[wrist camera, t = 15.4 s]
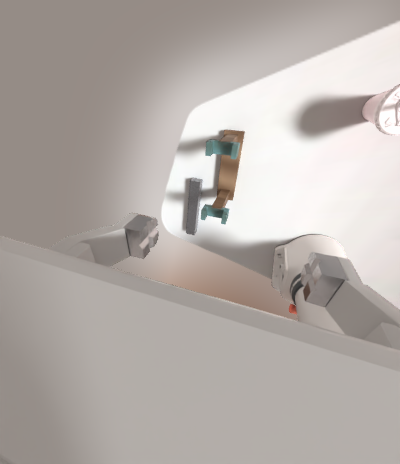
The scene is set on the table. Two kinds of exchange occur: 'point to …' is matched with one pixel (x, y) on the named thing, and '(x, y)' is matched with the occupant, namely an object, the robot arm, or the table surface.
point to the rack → (224, 171)
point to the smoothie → (384, 111)
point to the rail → (193, 205)
